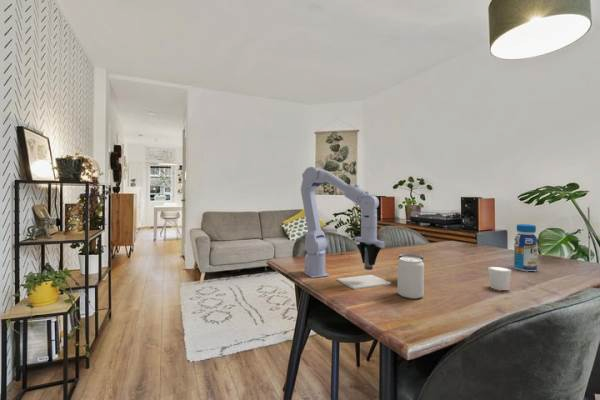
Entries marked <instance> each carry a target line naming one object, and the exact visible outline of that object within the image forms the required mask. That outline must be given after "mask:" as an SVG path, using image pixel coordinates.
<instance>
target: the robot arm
mask: <svg viewBox="0 0 600 400" xmlns="http://www.w3.org/2000/svg"><path fill="white" fill-rule="evenodd" d="M301 176H302V182H301V186H300V193H301V199H302V205H303V209H304V215H305V217H304V218H305V221H306V229H307V232H306V234H305V237H304V239H305V241H304V242H305V243H304V249H305V251H306V252H307V253H306V254H305V256H304V270H302V273H303V274H305V275H306V276H308V277H309V278H311V279H314V278H321V277H322V278H323V277H329V276H330V274H328V273H327V272H326V250H327V249H328V246H329V241H328V238H327V237H326V235H325V231H323V229H322V228H321V223H320V216H319V212H318V207H317V206H318V205H317V200H316V194H315V192H316V191H317V189H318V188H319V187H320V186H321V185H323V184H324V183H328V184H329V185H332V186H333V187H335V188H336V189H338V190H340V191H342V192H343V195H344V197H345V198H346V199H349V200H350V201H351V202H353V203H355V204H356V205H358V207H359V209H360V210H361V213H360V214H361V215H360V217H361V219H360V220H361V221H360V224H361V225H360V236H354V242H355V243H357V244H356V247H357V249H358V251H359V253H360V256H361V260H362V264H364V263H365V247H366V249H367V252H368V259H369V265H373V266H375V264H376V262H377V261H376V260H377V257H378V255H379V253H380V250H382V248H385V246H386V242H385V241H382V240H380V239H378V238H377V237H378V236H377V235H378V209H377V208H378V207H379V205H380V201H379V198H378V197H377V196H376V195H375V194H370V191H367V190H366V191H365V190H363V189H362V188H360V185H359V184H356V183H355V184H354V183H351V184H348V183H346V181H344V180H342V179H341V178H340V177H338V176H336V175H335V174H333V173H332V172H331V171H328V170H326V169H324V168H320V167H319V168H318V167H313V166H309V167H307V168H306V169H305V170H304V171H303V172H302V174H301ZM358 243H359V244H358Z"/></svg>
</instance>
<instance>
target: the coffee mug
mask: <svg viewBox="0 0 600 400" xmlns="http://www.w3.org/2000/svg"><path fill="white" fill-rule="evenodd" d="M401 257H415V258H420V259H422V262H423V263H424V256H423V255H422V254H416V253H409V252H408V253H400V254H398V261H399V260H400V259H399V258H401Z"/></svg>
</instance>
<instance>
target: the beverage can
mask: <svg viewBox="0 0 600 400" xmlns="http://www.w3.org/2000/svg"><path fill="white" fill-rule="evenodd" d="M399 259H400V260H399ZM424 285H425V263H424V261H423V262H422V259H420V258H415V257H401V258H399V257H398V261H397V294H398V295H400V296H401V297H403V298H407V299H413V300H414V299H415V300H416V299H420V298H422V297H424V295H425V294H424V293H425V291H424V290H425V286H424Z"/></svg>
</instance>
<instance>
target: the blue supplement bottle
mask: <svg viewBox="0 0 600 400" xmlns="http://www.w3.org/2000/svg"><path fill="white" fill-rule="evenodd" d="M536 229H537V227H536V225H535V224H530V223H529V224H525V223H521V224H520V223H519V224H518V223H517V224H516V233H517V234H516V235H515V237H514V241H515V243H514V244H513V247H514V248H513V249H514V250H513V251H514V254H513V255H514V257H513V261H514V262H513V268H514V269H515V270H518V271H522V272H528V271H535V272H537V271H538V249H539V247H538V238H537V236H536V235H535V234H536V232H537V231H536Z"/></svg>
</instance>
